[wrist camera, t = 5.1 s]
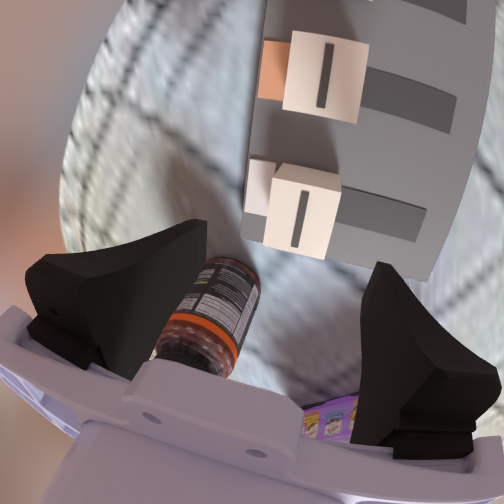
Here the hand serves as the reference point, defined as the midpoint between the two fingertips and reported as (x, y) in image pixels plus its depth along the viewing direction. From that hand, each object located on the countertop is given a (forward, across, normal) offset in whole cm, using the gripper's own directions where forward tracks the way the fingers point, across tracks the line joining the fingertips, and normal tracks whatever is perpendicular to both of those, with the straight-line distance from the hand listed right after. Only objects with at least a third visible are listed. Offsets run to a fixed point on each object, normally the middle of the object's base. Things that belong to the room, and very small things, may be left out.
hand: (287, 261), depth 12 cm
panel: (+10, -3, -8) cm, 13 cm away
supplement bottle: (+10, +5, +10) cm, 15 cm away
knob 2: (+7, 0, 0) cm, 7 cm away
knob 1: (+7, 0, -7) cm, 10 cm away
